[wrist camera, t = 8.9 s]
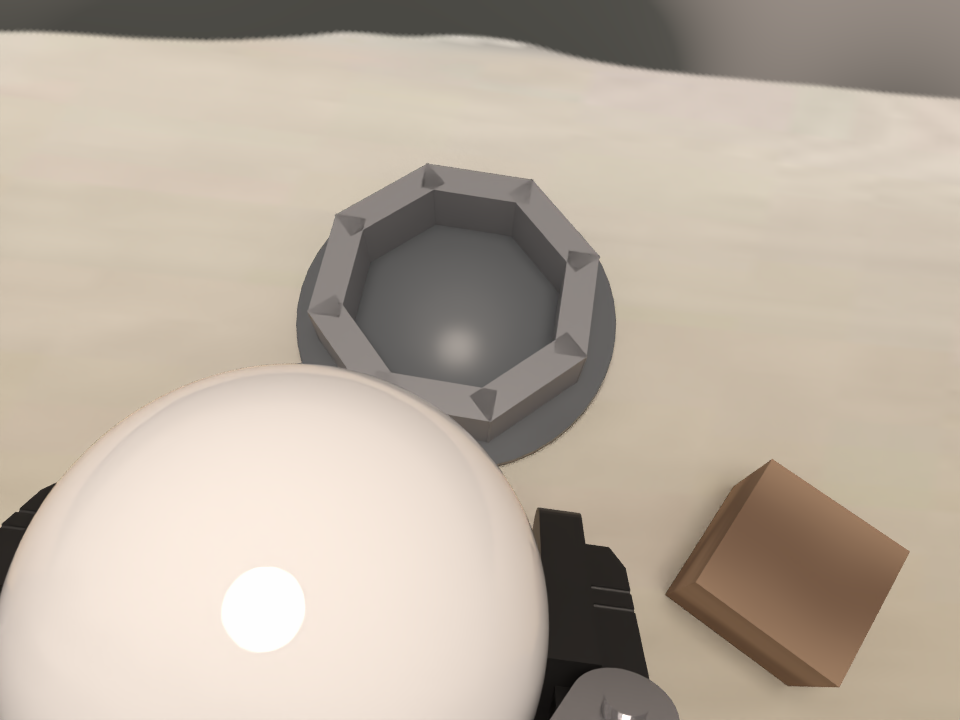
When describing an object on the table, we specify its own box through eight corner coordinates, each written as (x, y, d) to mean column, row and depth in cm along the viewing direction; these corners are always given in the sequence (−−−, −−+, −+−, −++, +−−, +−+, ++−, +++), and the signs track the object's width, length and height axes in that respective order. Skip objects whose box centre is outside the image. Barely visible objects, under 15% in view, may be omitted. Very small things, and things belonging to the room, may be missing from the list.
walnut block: (786, 685, 26) (839, 687, 23) (664, 595, 27) (695, 582, 24) (850, 568, 28) (909, 551, 24) (732, 486, 29) (772, 458, 25)
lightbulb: (349, 455, 18) (245, 163, 8) (556, 633, 17) (731, 539, 7) (142, 673, 16) (-336, 632, 6) (360, 898, 15) (201, 1325, 5)
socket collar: (412, 539, 28) (406, 524, 25) (241, 283, 32) (220, 245, 29) (678, 354, 31) (699, 322, 28) (492, 141, 35) (495, 95, 32)
